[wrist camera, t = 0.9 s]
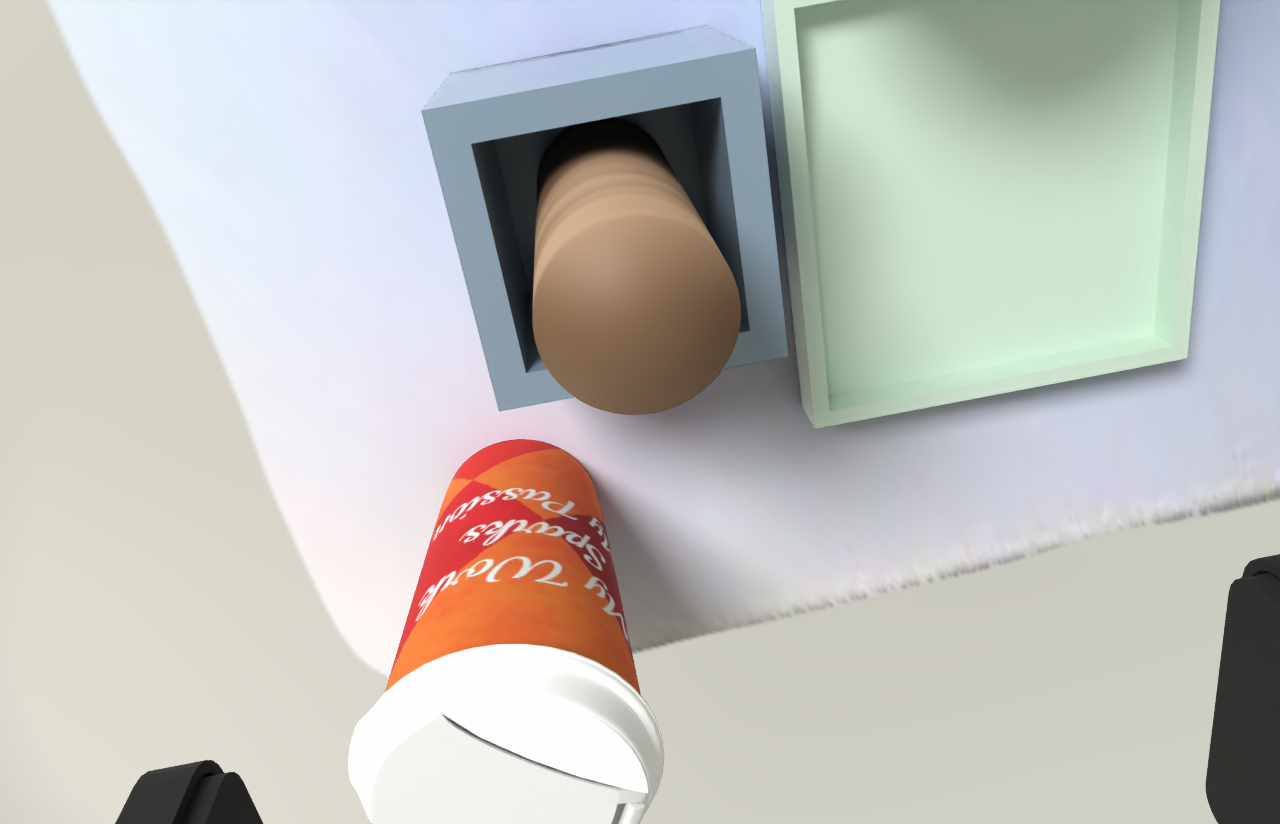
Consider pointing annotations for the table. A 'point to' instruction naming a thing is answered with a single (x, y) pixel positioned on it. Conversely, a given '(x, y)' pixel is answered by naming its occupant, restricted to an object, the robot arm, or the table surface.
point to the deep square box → (588, 91)
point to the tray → (986, 191)
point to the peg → (626, 274)
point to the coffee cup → (512, 663)
